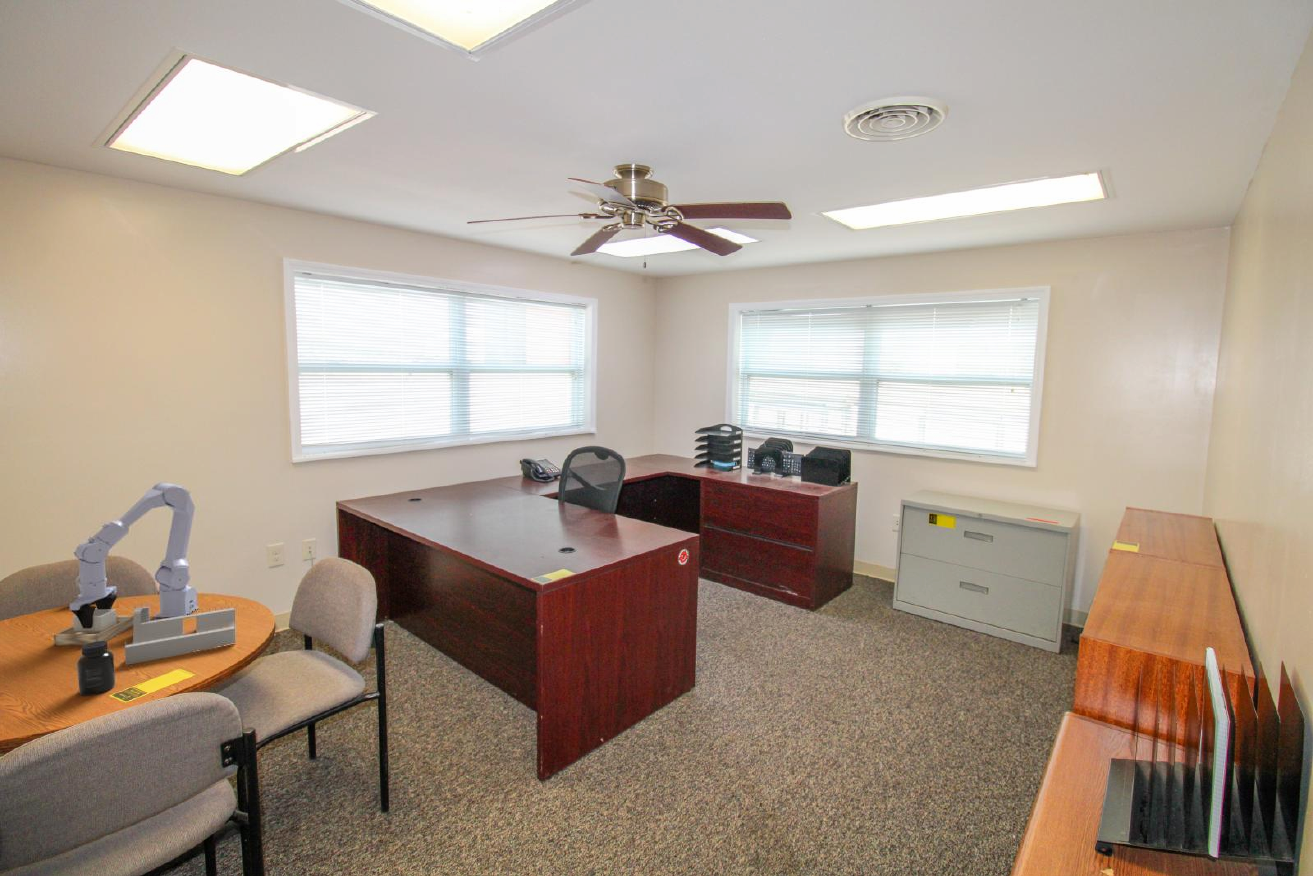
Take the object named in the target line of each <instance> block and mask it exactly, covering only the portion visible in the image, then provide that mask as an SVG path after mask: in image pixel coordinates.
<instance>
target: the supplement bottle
mask: <svg viewBox="0 0 1313 876" xmlns="http://www.w3.org/2000/svg"><path fill="white" fill-rule="evenodd" d="M81 655H82V656H81V657H79V658H78V660H77V662H76V666H77V679H78V680H77V681H78V691H79V694H80V695H83V696H93V695H100V694H103V693H105V692H107V691H109V690H112V688H113V687H114V686H115V684H116V672H115V656H114V653H113V652H112V651H110V650H109V646H108V641H97V642H92V643H88V644H86V645H82V646H81Z"/></svg>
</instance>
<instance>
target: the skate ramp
mask: <svg viewBox="0 0 1313 876" xmlns="http://www.w3.org/2000/svg"><path fill="white" fill-rule="evenodd" d="M141 605H142V602H141V603H139V605H138V607H136V604H134V606H133V607H134V610H133V615H132V616H133V627H132V628H133V630H132V635H133V636H132V642H128V643H130V644H127V642H126V641H125V642H124V656H125V658H124V660H125V666H128V665H134V664H139V663H143V662H149V661H155V660H159V659H160V660H161V659H165V658H171V657H176V656H175V655H177V656H181V655H186V653H187V654H190V653H189V652H193V653H195V652H194V651H197V650H204V651H207V650H206V649H209V650H211V649H210V648H214V647H217V646H224V645H227V644H231V643H235V644H236V604H235V603H233V604H232V605H230V607H229V608H227V607H228V605H225V606H224V607H222V605H221V606H219V607H217V606H216V607H215V606H214V607H213V606H212V609H211V607H208V608H206V610H205V611H204V608H203V609H199V610H198V609H196V610H194V611H193V612H192V613H189V614H188V615H185V616H179V617H177V616H176V617H170V614H168V615H169V617H168V616H167V617H165V618H164V617H163V615H161V616H162V617H160V618H161V619H157V617H156V616H155V617H153V620H151V613H150V612H151V610H150V607H151V606H150V604H149V602H148V601H147V602H146V603H145V606H141ZM146 605H147V606H146ZM139 606H140V607H139ZM226 606H227V607H226ZM220 607H221V609H220ZM207 609H208V610H207ZM218 609H219V610H218ZM200 610H201V611H200ZM206 611H207V612H206ZM187 612H188V611H187ZM181 613H182V612H181ZM193 613H194V614H193ZM174 614H175V613H174ZM186 614H187V613H186ZM180 615H181V614H180ZM174 616H175V615H174ZM189 618H195V619H196V620H195V621H196V622H195V623H196V625H195V627H196V628H195V630H192V633H189V632H183V631H184V619H189ZM223 627H228V628H223ZM218 628H219V629H218ZM220 628H221V629H220ZM195 631H196V632H195ZM198 632H199V633H198ZM214 649H215V648H214Z"/></svg>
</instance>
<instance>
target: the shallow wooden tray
mask: <svg viewBox="0 0 1313 876" xmlns="http://www.w3.org/2000/svg"><path fill="white" fill-rule="evenodd" d="M116 621H117V624H116V625H114V626H112V627H110V628H108V629H106V630H104V631H102V632H101V633H96V632H74V630H73V625H72V626H69V627H67V628H66V629H64V630H61V631H60V632H57V633H55V634H53V646H84V645H86V644H88V643H92V642H97V641H106V642H108V641H110V640H111V639H113V638H115V637H116V636H118V634H119V635H120V634H122V633H124V632H125V630H126V631H128V630H129V628H130V627H131V628H133V615H116ZM131 628H130V629H131ZM127 629H128V630H127ZM121 632H122V633H121ZM114 636H115V637H114Z"/></svg>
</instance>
